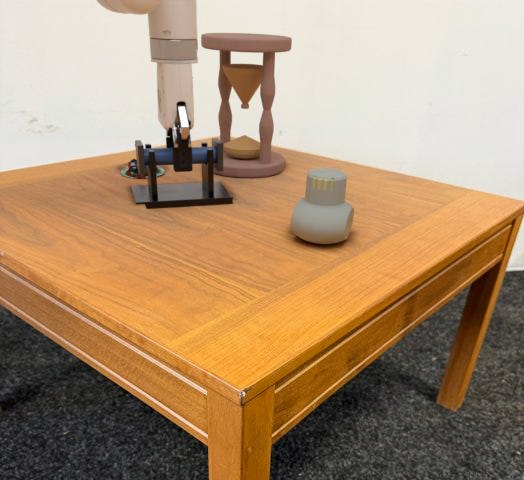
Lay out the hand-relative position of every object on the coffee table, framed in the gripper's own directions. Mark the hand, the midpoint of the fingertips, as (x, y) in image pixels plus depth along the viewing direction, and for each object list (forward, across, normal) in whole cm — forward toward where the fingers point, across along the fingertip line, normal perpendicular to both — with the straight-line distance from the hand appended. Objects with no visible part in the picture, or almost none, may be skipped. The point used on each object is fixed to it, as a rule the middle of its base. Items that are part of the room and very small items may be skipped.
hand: (179, 164), depth 97 cm
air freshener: (+6, +24, +18) cm, 31 cm away
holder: (+6, 0, 0) cm, 6 cm away
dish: (+6, -18, -5) cm, 20 cm away
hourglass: (+6, -19, +17) cm, 26 cm away
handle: (+1, 0, 0) cm, 1 cm away
